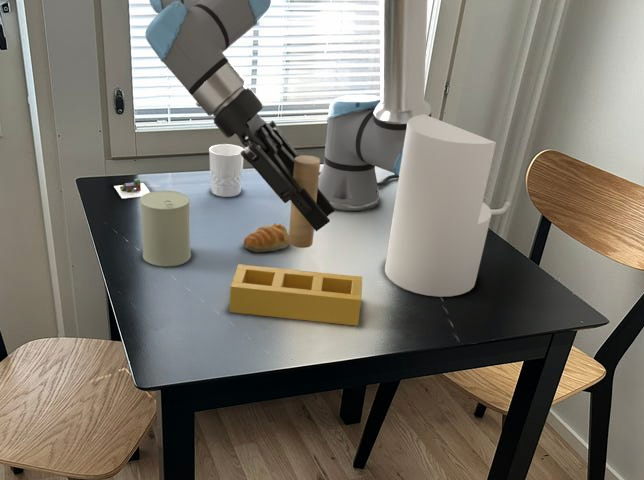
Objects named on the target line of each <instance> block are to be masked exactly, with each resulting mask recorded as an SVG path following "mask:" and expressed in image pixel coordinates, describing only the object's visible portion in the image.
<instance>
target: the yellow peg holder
mask: <svg viewBox="0 0 644 480" xmlns="http://www.w3.org/2000/svg"><path fill="white" fill-rule="evenodd" d="M229 288H230V290H229V291H230V292H229V293H230V295H229V296H230V297H229V301H230V302H229V313H233V314H235V313H236V314H243V315H251V316H252V315H253V316H261V317H262V316H263V317H271V318H281V319H290V320H300V321H310V322H319V323H329V324H335V325H336V324H337V325H348V326H359V319H360V313H361V304H362V290H363V276H357V275H347V274H339V273H338V274H337V273H329V272H317V271H307V270H298V269H289V268H280V267H279V268H278V267H269V266H261V265H248V264H240V263H239V264H238V265H237V267H236V270H235V273H234V276H233V278H232V281H231V284H230V287H229Z"/></svg>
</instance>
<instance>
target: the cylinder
mask: <svg viewBox="0 0 644 480" xmlns="http://www.w3.org/2000/svg"><path fill="white" fill-rule="evenodd" d="M496 144H497V142H496V141H493V140H491V139H489V138H487V137H483V136H481V135H478V134H475V133H473V132H471V131H468V130H465V129H463V128H460V127H458V126H455V125H454V124H451V123H447V122H445V121H443V120H440V119H437V118H435V117H432V116H431V117H430V116H427V115H425V114H423V115H419V116H415V117H413V118H410V119H409V121H408V122H407V128H406V135H405V141H404V148H403V154H402V161H401V167H400V174H399V178H398V182H397V188H396V194H395V201H394V207H393V213H392V219H391V225H390V234H389V238H388V246H387V251H386V258H385V265H384V273H385V275H386V276H387V278H388V280H390V281H391V282H392V283H393V284H395V285H396V286H398V287H399V288H402V289H403V290H406V291H409V292H412V293H415V294H419V295H424V296H430V297H438V298H439V297H440V298H443V297H454V296H460V295H463V294H466V293H468V292H470V291H471V290H472V289H473V288H474V287H475V285H476V282H477V278H478V274H479V269H480V266H481V262H482V257H483V253H484V249H485V248H484V247H485V244H486V240H487V235H488V231H489V228H490V222H491V218H492V215H493V211H492V209H491V208H490V207H489V206H488V205H487V204H486V203H485V202H484V198H485V194H486V190H487V184H488V180H489V177H490V172H491V168H492V163H493V158H494V153H495V151H496Z"/></svg>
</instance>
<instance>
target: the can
mask: <svg viewBox="0 0 644 480" xmlns="http://www.w3.org/2000/svg"><path fill="white" fill-rule="evenodd" d="M190 201H191V200H190V197H189V196H188V195H187V194H186V193H183V192H180V191H177V190H169V189H168V190H163V189H162V190H153V191H150V192H149V193H146V194H144V195H143V196H141V197H139V203H140V215H141V230H142V231H141V232H142V258H143V260H144V261H145V262H146V263H147V264H150V265H153V266H156V267H164V268H165V267H177V266H181V265H184V264H185V263H187V262H189V260H191V257H192V252H191V236H190V235H191V232H190V203H191V202H190Z"/></svg>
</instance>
